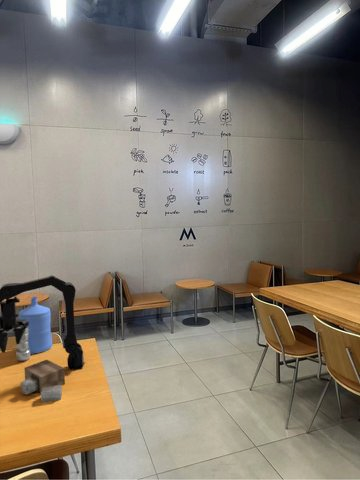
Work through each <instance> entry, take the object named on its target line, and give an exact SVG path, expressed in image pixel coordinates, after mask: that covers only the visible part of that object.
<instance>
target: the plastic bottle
mask: <svg viewBox="0 0 360 480" xmlns="http://www.w3.org/2000/svg"><path fill="white" fill-rule="evenodd" d="M28 336H29V329H28V327H27V328H26V330H25V332H24V334H23V336H22V338H21V341H20V343H19V344H16V353H15V355H16V356H15V357H16V360H17V361H19V362H23V361H27V360H29V359H30V358H31V355H32V354H31V353H30V349H29V343H28Z"/></svg>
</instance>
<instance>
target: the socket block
mask: <svg viewBox="0 0 360 480" xmlns="http://www.w3.org/2000/svg"><path fill="white" fill-rule="evenodd" d="M23 370H24V381H25V380H27V379H29V378H32V377H35V378H37V379H38V386H39V389H38V390H36V391H35V392H37V393H39V394H41V391H42V388H43V387H49V386H56V385H61V387H62V386H64V385H65V384H66V379H65V367H63V366H61V365H60V364H57V363H55V362H52V361H51V360H48V359H44V360H42V361H39V362H37V363H34V364H31V365H28V366H26V367H24V368H23Z"/></svg>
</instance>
